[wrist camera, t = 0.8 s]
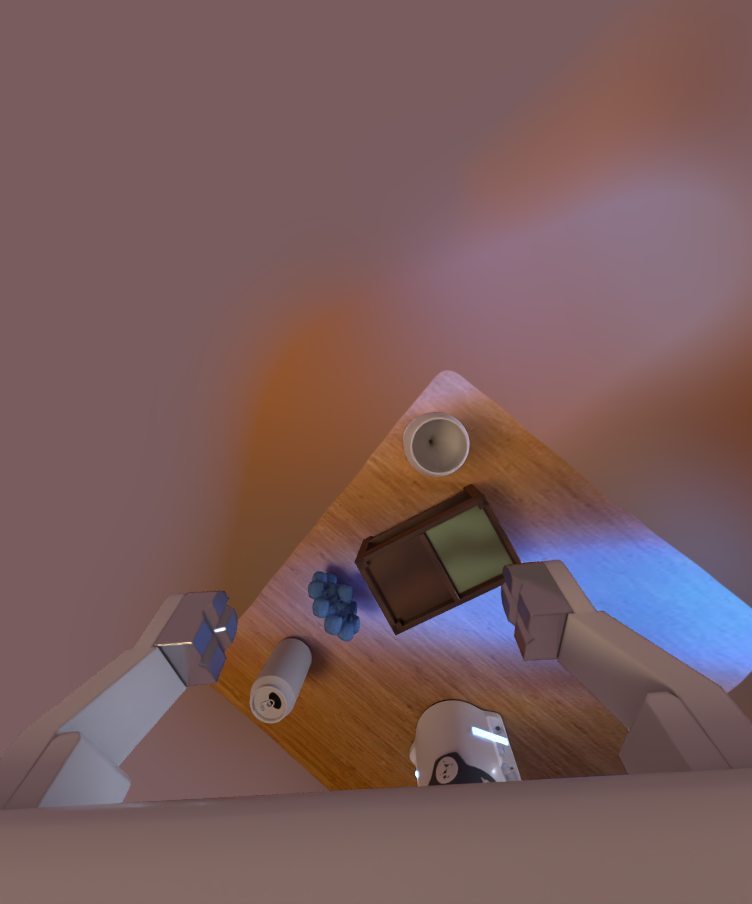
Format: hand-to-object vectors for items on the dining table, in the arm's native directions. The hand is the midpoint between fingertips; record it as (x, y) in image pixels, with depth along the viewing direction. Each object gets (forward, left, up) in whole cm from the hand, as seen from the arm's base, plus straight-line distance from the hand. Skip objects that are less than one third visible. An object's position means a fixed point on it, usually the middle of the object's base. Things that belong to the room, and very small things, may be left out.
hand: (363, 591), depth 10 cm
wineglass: (0, -5, -49) cm, 50 cm away
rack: (-17, +2, -49) cm, 52 cm away
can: (-24, +37, -49) cm, 66 cm away
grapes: (-16, +21, -49) cm, 56 cm away
